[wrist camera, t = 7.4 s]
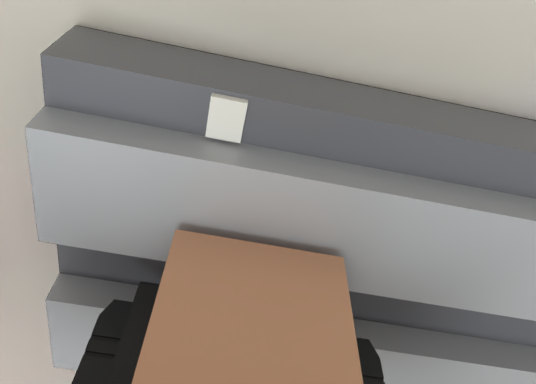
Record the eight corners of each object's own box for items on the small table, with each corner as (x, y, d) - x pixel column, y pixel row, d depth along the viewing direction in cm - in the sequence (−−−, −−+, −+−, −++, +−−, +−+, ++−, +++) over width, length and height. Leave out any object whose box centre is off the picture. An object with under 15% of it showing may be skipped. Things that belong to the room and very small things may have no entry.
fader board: (791, 173, 13) (906, 245, 11) (568, 385, 20) (608, 460, 17) (75, 25, 11) (18, 71, 9) (87, 314, 18) (55, 388, 15)
